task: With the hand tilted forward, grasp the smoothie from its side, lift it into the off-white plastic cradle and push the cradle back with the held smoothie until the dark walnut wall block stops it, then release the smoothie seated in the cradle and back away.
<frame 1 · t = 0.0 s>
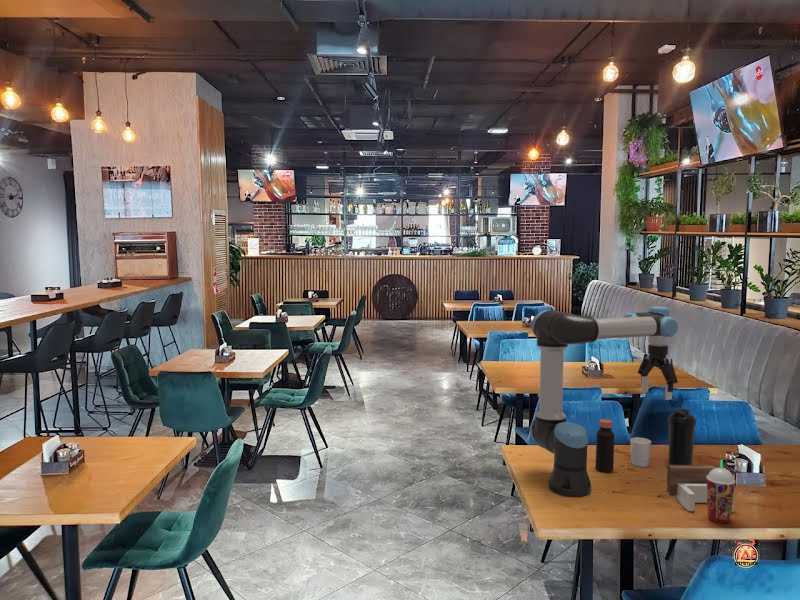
hand: (656, 395, 250), 28 cm above the table, tool pointing down, fingers open, 13 cm apart
water bottle: (680, 466, 247), on the table
backstop wall: (690, 493, 220), on the table
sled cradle: (705, 497, 209), point 3 cm above the table, slide at 0.0 cm
smoothie: (718, 519, 199), on the table
white cup: (639, 464, 250), on the table
vinegar: (604, 470, 243), on the table
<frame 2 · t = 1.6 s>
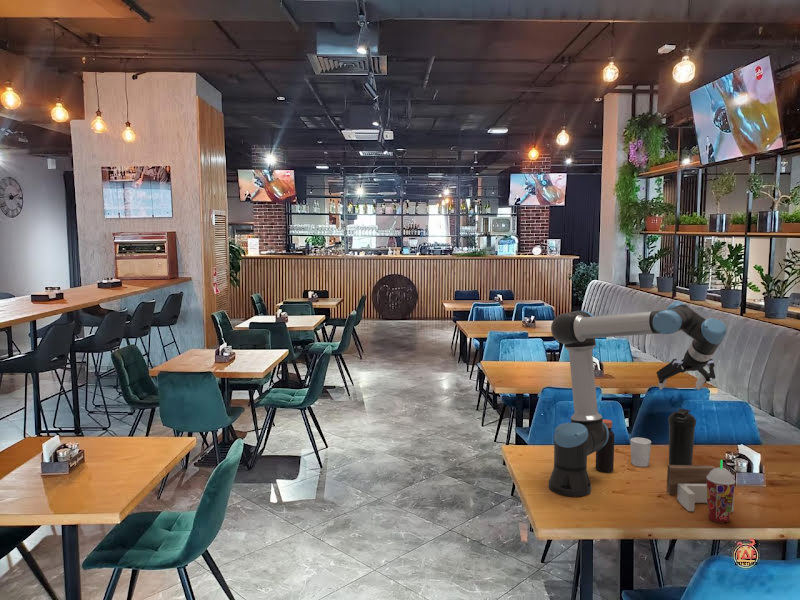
hand: (678, 386, 224), 38 cm above the table, tool tilted 45°, fingers open, 13 cm apart
nothing on the table moved.
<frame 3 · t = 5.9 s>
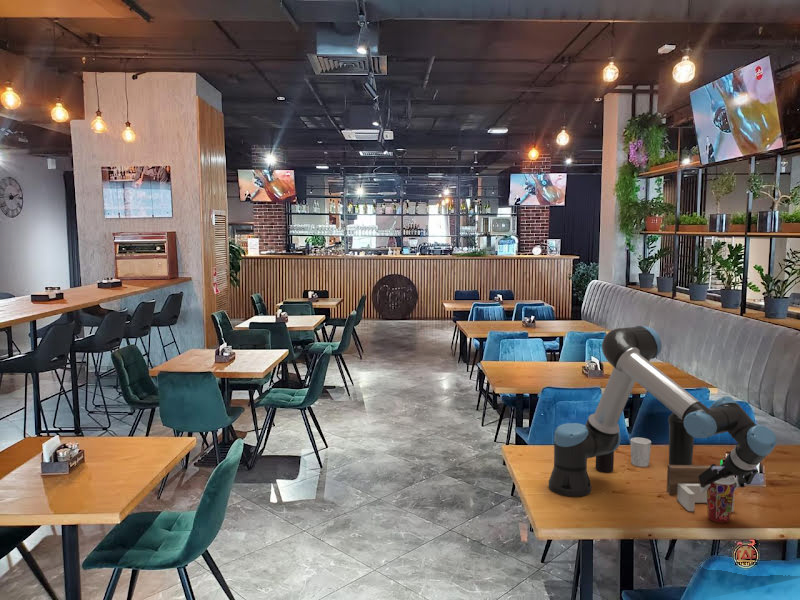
hand: (715, 489, 202), 9 cm above the table, tool tilted 45°, fingers closed on smoothie, 8 cm apart
smoothie: (718, 519, 199), on the table, touching gripper
everything else where it was.
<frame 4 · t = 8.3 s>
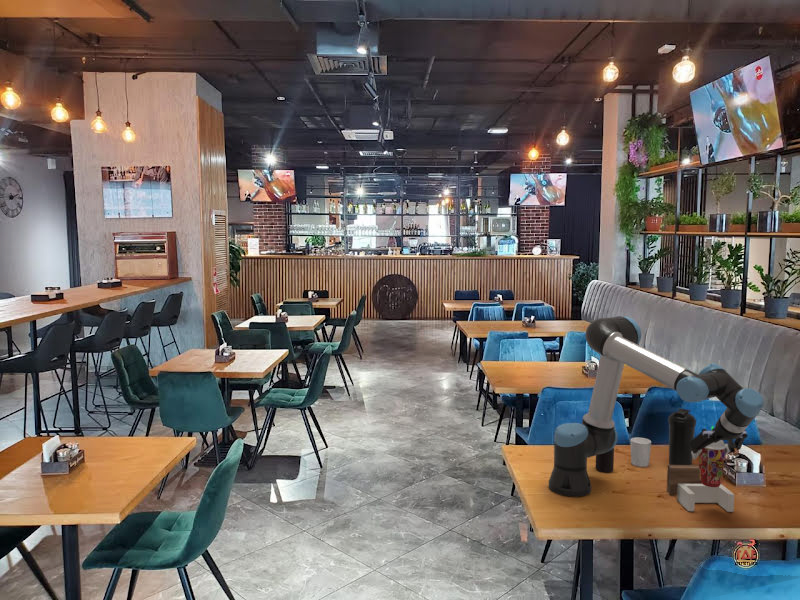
hand: (706, 456, 208), 18 cm above the table, tool tilted 45°, fingers closed on smoothie, 8 cm apart
smoothie: (710, 484, 206), point 9 cm above the table, touching gripper
everything else where it was.
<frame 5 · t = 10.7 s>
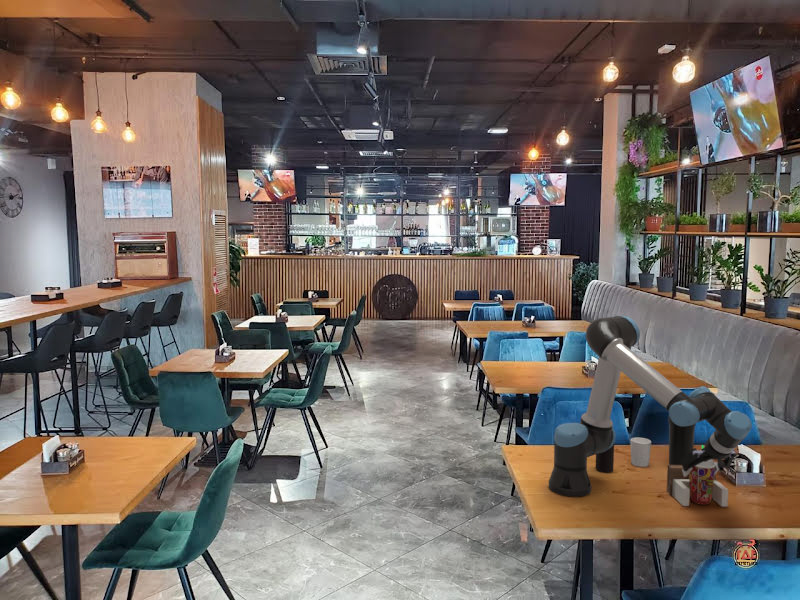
hand: (697, 473, 215), 9 cm above the table, tool tilted 45°, fingers closed on smoothie, 8 cm apart
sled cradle: (699, 492, 213), point 3 cm above the table, slide at 4.1 cm, touching smoothie
smoothie: (700, 501, 212), touching gripper, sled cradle
everything else where it was.
when the fingers open (9 cm above the table, at t = 10.9 s): smoothie stays where it is, on the table.
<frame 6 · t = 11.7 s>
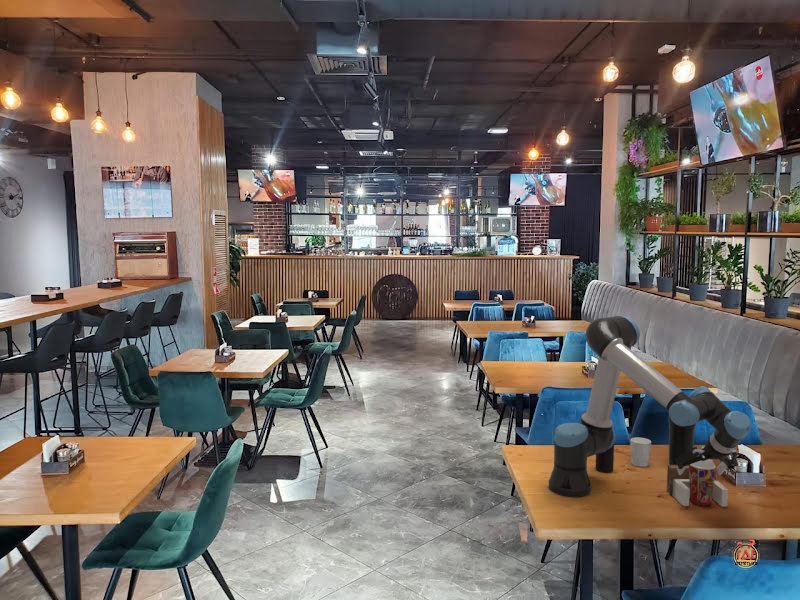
hand: (698, 471, 214), 10 cm above the table, tool tilted 45°, fingers open, 13 cm apart
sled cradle: (699, 492, 213), point 3 cm above the table, slide at 4.1 cm
smoothie: (700, 503, 212), on the table
everything else where it was.
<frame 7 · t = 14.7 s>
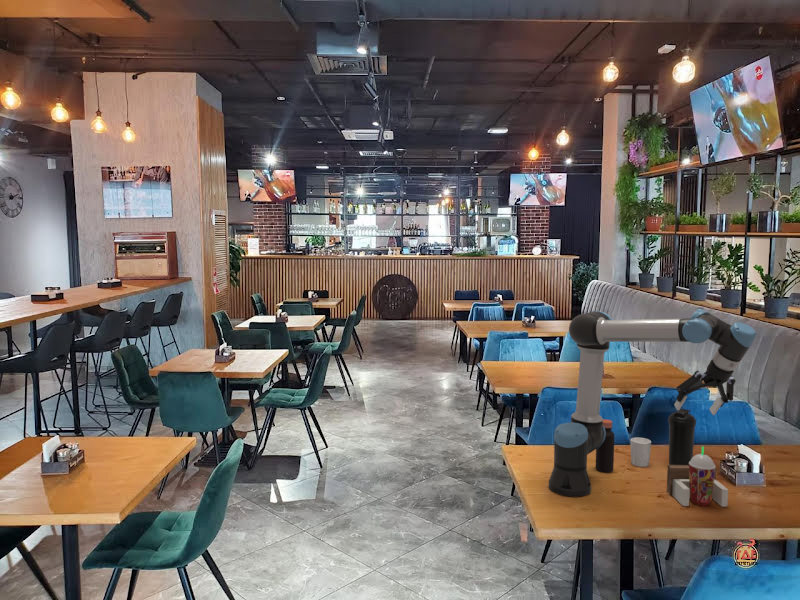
hand: (694, 410, 215), 31 cm above the table, tool tilted 30°, fingers open, 13 cm apart
nothing on the table moved.
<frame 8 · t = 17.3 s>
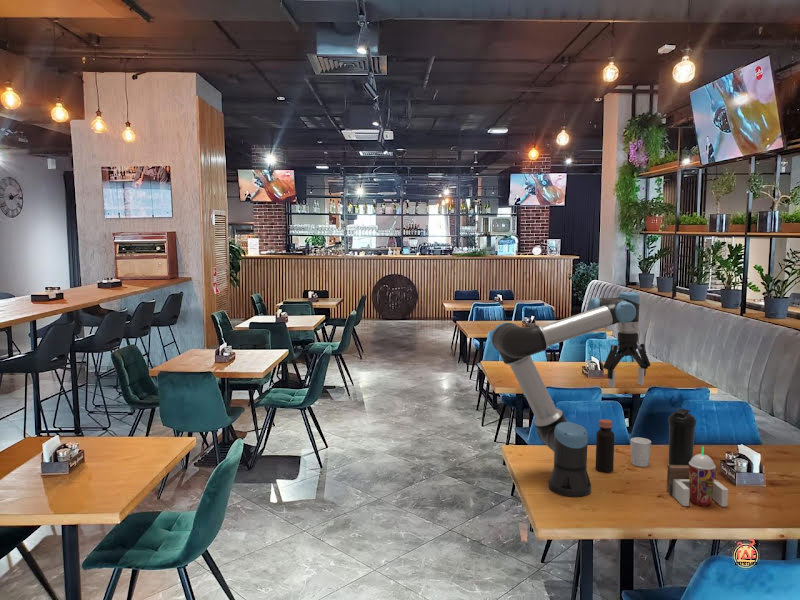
hand: (626, 385, 238), 35 cm above the table, tool pointing down, fingers open, 13 cm apart
nothing on the table moved.
at the end: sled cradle slide at 4.1 cm; smoothie 0.9 cm from the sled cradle (horizontally); smoothie tilted 0° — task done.
